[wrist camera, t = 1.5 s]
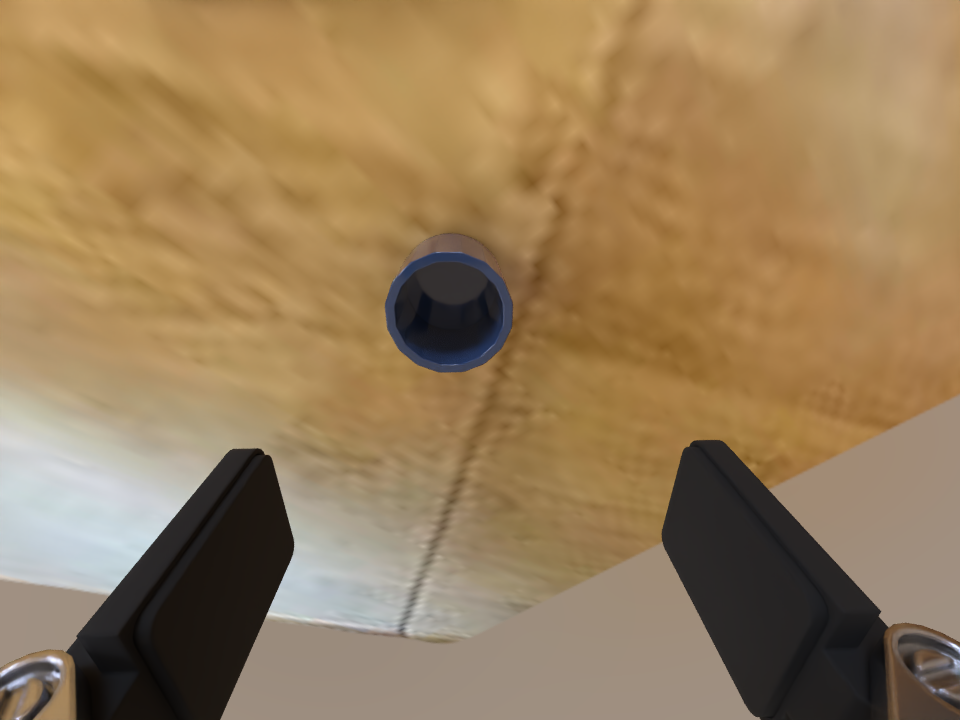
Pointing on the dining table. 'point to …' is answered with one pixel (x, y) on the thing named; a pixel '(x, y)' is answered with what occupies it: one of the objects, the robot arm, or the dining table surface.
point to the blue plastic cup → (449, 304)
